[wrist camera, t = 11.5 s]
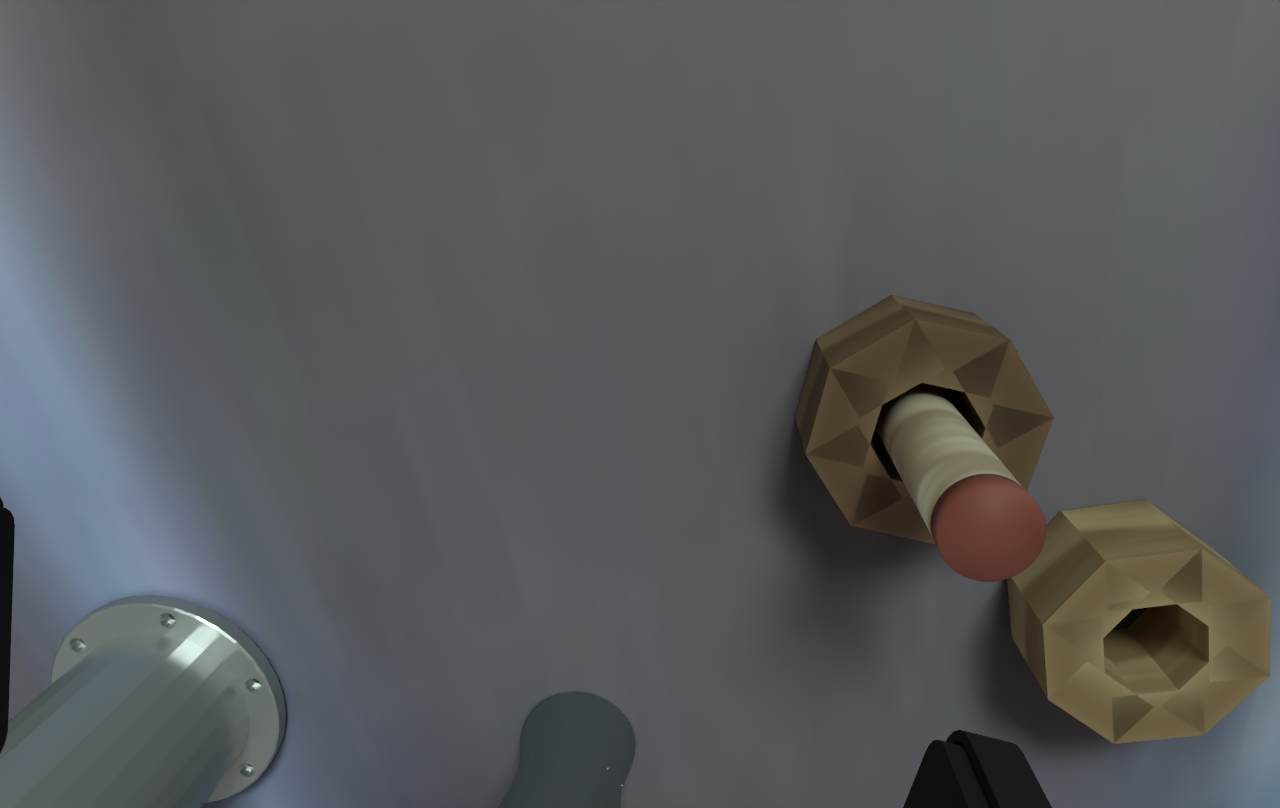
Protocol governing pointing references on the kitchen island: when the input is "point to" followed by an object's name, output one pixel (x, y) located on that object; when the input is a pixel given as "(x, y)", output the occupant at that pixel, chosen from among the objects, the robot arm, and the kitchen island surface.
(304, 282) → the kitchen island surface
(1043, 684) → the oak bead
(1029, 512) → the cream and red cylinder
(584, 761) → the beer glass
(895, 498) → the walnut bead
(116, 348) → the kitchen island surface
